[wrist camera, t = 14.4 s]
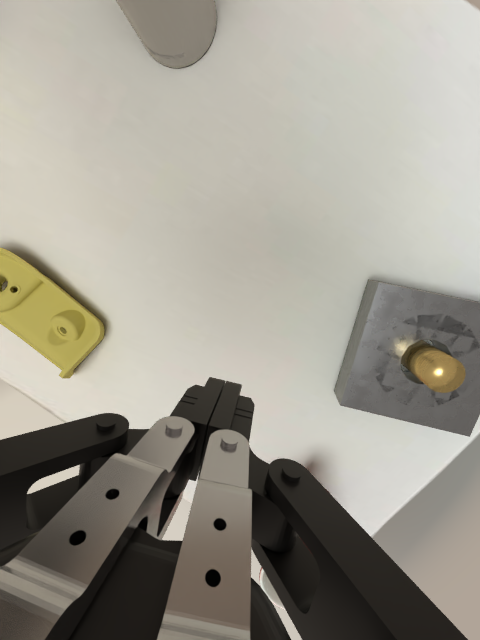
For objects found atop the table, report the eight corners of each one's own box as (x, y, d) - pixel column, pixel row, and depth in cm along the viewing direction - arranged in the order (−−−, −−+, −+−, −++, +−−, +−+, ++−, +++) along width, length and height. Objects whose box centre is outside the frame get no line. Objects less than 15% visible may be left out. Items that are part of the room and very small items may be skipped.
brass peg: (399, 333, 38) (431, 353, 30) (430, 340, 37) (471, 362, 30) (390, 361, 39) (419, 388, 31) (420, 368, 38) (457, 396, 31)
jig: (368, 279, 37) (379, 282, 33) (498, 306, 35) (525, 312, 32) (334, 390, 40) (340, 405, 37) (450, 418, 39) (469, 436, 35)
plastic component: (108, 328, 40) (54, 385, 38) (117, 330, 48) (73, 377, 46) (-13, 230, 38) (-77, 285, 36) (17, 247, 45) (-36, 294, 43)
